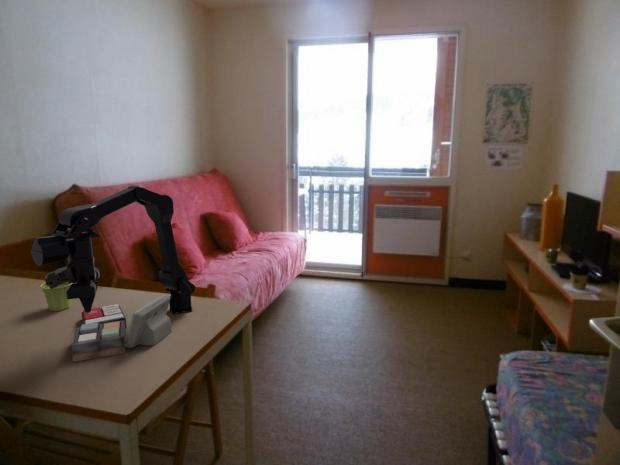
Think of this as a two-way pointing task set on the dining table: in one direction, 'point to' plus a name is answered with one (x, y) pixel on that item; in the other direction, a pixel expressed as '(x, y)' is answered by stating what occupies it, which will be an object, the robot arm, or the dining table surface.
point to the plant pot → (57, 296)
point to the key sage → (110, 332)
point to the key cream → (87, 337)
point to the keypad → (99, 344)
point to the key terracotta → (112, 325)
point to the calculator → (104, 315)
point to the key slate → (89, 328)
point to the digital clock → (149, 323)
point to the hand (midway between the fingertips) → (88, 312)
